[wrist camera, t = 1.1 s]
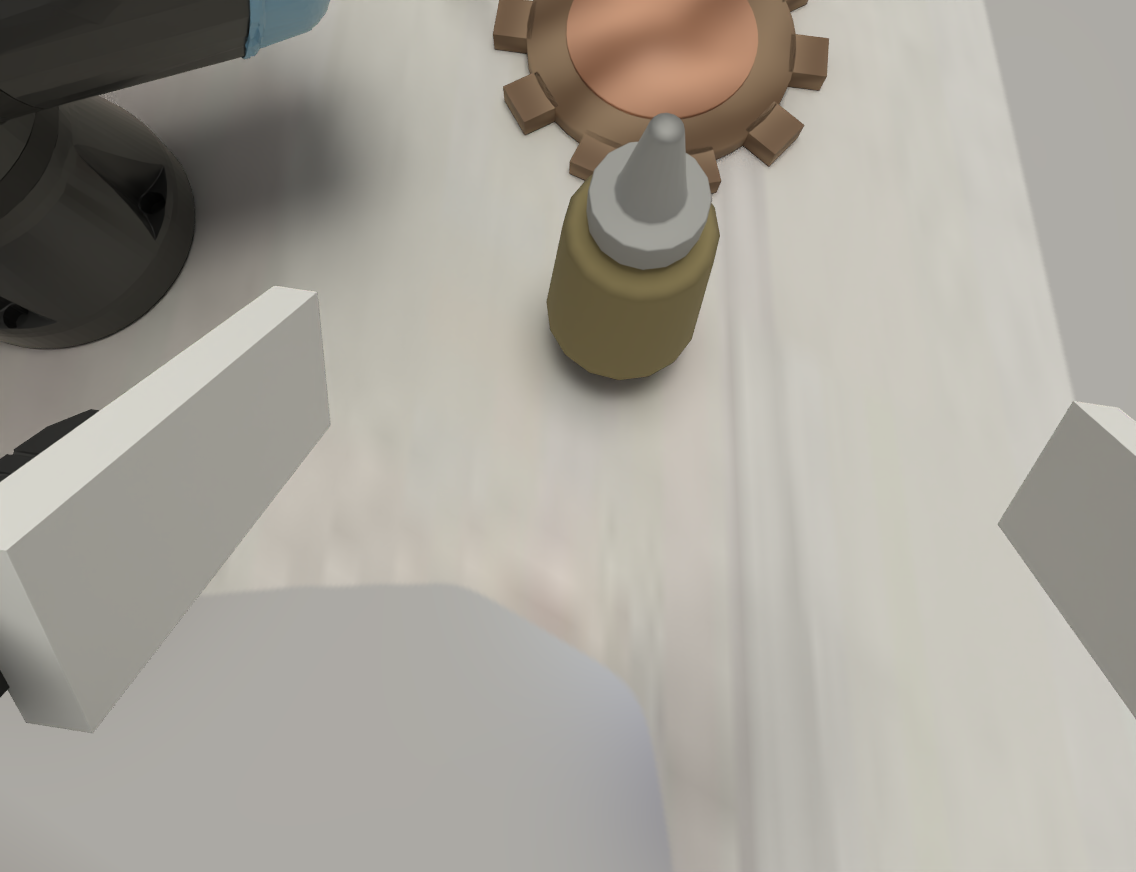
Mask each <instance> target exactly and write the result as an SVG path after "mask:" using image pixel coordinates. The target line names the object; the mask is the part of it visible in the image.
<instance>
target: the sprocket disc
mask: <svg viewBox="0 0 1136 872" xmlns="http://www.w3.org/2000/svg"><path fill="white" fill-rule="evenodd" d="M807 2H808V0H533V1H528V0H499V4H498V10H497V15H496V21H495V26H494V32H493V38H494V47H495V49H497V50H505V51H513V52H521V53H527V54H528V65H529V71H530V75H528V76H525V77H523V78H521V79H519V80H517V81H514V82H512V83H510V84H508V85H506V86H503V91H504V100H505V102H506V104H507V105H508V107H509V109H510V110H511V112H512V114H513V116H514V117H515V119H516V121H517V122H518V124H519V126H520V127H521V129H522V131H523V132H524V134H525V135H526V134H529V133H531V132H533V131H535V130H537V129H539V128H541V127H544V126H546V125H548V124H550V123H552V122H554V121H555V122H556V123H557V124H558V125H559V126H560V127H561V128H562V129H563V130H564V131H565V132H566V133H567V134H568V135H570V136H571V137H572V138H574V139H575V140H576V141H578V142H579V145H578V147H577V149H576V151H575V153H574V155H573V156H572V158H571V160H570V171H569V173H570V174H572V175H574V176H577V177H579V178H581V179H583V180H586V179H587V178H588V177H589V176H591V175H593V172H594V169H595V168H596V167H597V166H598V165H599V164H600V162H601V161H602V160H603V159H604V158H605V157H606V155H607V154H608V153H610V152H612V151H613V150H615V149H617V148H619V147H621V146H623V145H625V144H627V143H630V142H639V140H640V138H641V136H642V135H643V133H644V131H645V129H646V128H647V126H648V124H649V122H650V121H651V120H652V118H653V117H654V116H656V115H658V114H660V113H670V114H674V115H676V116H677V117H679V118H680V119H681V121H682V122H683V123H684V128H685V149H686V153H687V154H689V155H690V156H691V157H693V158H694V159H695V160H696V161H697V162H698V164H699V165H700V167H701V168H702V170H703V171H704V173H705V174H706V176H707V177H708V181H709V186H710V191H711V193H716V192H717V190H718V188H719V185H720V183H721V178H720V174H719V170H718V166H717V163H716V159H719V158H721V157H723V156H725V155H727V154H729V153H731V152H733V151H735V150H736V149H738V148H740V147H741V146H745V147H746V148H747V149H748V150H749V151H751V152H752V153H753V154H754V155H756V156H757V157H758V158H759V159H760V160H762V161H763V162H764V163H765V164H767V165H768V166H770V165H771V164H772V163H773V162H774V161H775V160H776V159H777V158H778V157H779V156H780V155H781V154H782V153H783V152H784V151H785V150H786V149H787V148H788V147H789V146H790V145H791V144H792V143H793V142H794V141H795V140H796V139H797V138H798V136H799V134H800V132H801V131H802V129H803V127H804V124H802V123H801V122H800V121H799V120H797V119H796V118H795V117H794V116H792V115H791V114H790V113H789V112H787V111H786V110H785V109H784V108H782V107H781V106H780V105H779V104H780V102H781V100H782V98H783V95H784V93H785V91H786V89H787V87H788V86H789V87H797V88H805V89H812V90H820V88H821V86H822V84H823V82H824V81H825V79H826V77H827V63H828V46H829V38H822V37H814V36H806V35H798V34H795V28H794V23H793V19H792V16H791V13H790V12H791V11H793V10H795V9H797V8H799V7H801V6H803V5H806V4H807Z"/></svg>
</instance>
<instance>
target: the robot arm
mask: <svg viewBox="0 0 1136 872" xmlns="http://www.w3.org/2000/svg"><path fill="white" fill-rule="evenodd" d="M329 2H330V0H0V341H3V342H6V343H10V344H13V345H17V346H22V347H29V348H42V349H48V348H64V347H70V346H76V345H80V344H85V343H88V342H91V341H95V340H97V339H100V338H103V337H105V336H107V335H110V334H112V333H114V332H116V331H118V330H120V329H122V328H123V327H125V326H127V325H128V324H130V323H132V322H133V321H134V320H136V319H137V318H139V317H140V316H141V315H143V314H144V313H145V312H146V311H148V310H149V309H150V308H151V307H152V306H153V305H154V304H155V303H156V302H157V301H158V300H159V299H160V298H161V297H162V296H163V295H164V293H165V292H166V291H167V290H168V289H169V287H170V286H171V284H172V283H173V282H174V280H175V278H176V277H177V275H178V274H179V272H180V270H181V268H182V266H183V264H184V262H185V260H186V257H187V255H188V252H189V249H190V246H191V242H192V238H193V232H194V224H195V208H194V200H193V194H192V190H191V187H190V184H189V181H188V179H187V176H186V174H185V172H184V170H183V168H182V167H181V165H180V164H179V162H178V161H177V159H176V158H175V157H174V155H173V154H172V153H171V152H170V151H169V150H168V149H167V147H166V146H165V145H164V144H163V143H162V142H161V141H160V140H159V139H158V138H157V137H156V136H155V134H154V133H153V132H152V131H151V130H150V129H149V128H148V127H147V126H146V125H144V124H143V123H142V122H141V121H140V120H138V119H137V118H136V117H134V116H133V115H132V114H130V113H129V112H128V111H126V110H124V109H123V108H121V107H119V106H117V105H115V104H114V103H112V102H110V101H108V100H106V99H104V98H102V97H100V96H99V95H101V94H105V93H108V92H112V91H116V90H120V89H123V88H127V87H131V86H135V85H138V84H142V83H146V82H149V81H153V80H157V79H161V78H164V77H168V76H172V75H176V74H179V73H183V72H187V71H191V70H194V69H198V68H202V67H206V66H209V65H213V64H217V63H221V62H224V61H228V60H232V59H236V58H239V57H242V58H243V59H248V58H250V56H255V55H256V54H257V52H258V51H259V49H260V48H263V47H266V46H269V45H272V44H274V43H277V42H280V41H283V40H286V39H288V38H291V37H294V36H297V35H300V34H303V33H306V32H308V31H310V30H312V28H313V27H314V26H316V25H317V24H318V22H319V21H320V19H321V18H322V17H323V16H324V15H325V13H326V11H327V9H328V5H329ZM329 427H330V414H329V404H328V394H327V384H326V374H325V364H324V353H323V343H322V333H321V323H320V313H319V303H318V293H317V292H315V291H308V290H301V289H295V288H288V287H281V286H273V287H272V288H270V289H269V290H267V291H266V292H265V293H263V294H262V295H260V296H259V297H258V298H256V299H255V300H254V301H252V302H251V303H249V304H248V305H247V306H245V307H244V308H242V309H241V310H240V311H238V312H237V313H235V314H234V315H233V316H231V317H230V318H228V319H227V320H226V321H224V322H223V323H221V324H220V325H219V326H217V327H216V328H214V329H213V330H212V331H210V332H209V333H207V334H206V335H205V336H203V337H202V338H201V339H199V340H198V341H196V342H195V343H194V344H192V345H191V346H189V347H188V348H187V349H185V350H184V351H182V352H181V353H180V354H178V355H177V356H175V357H174V358H173V359H171V360H170V361H168V362H167V363H166V364H164V365H163V366H161V367H160V368H159V369H157V370H156V371H155V372H153V373H152V374H150V375H149V376H148V377H146V378H145V379H143V380H142V381H141V382H139V383H138V384H136V385H135V386H134V387H132V388H131V389H129V390H128V391H127V392H125V393H124V394H122V395H121V396H120V397H118V398H117V399H115V400H114V401H113V402H111V403H110V404H108V405H107V406H106V407H104V408H103V409H102V410H100V411H99V410H92V409H90V410H88V411H85V412H83V413H80V414H78V415H75V416H73V417H70V418H68V419H65V420H63V421H60V422H58V423H55V424H53V425H50V426H48V427H46V428H45V429H43V430H42V431H40V432H39V433H37V434H36V435H35V436H33V437H32V438H30V439H29V440H27V441H26V442H24V443H23V444H21V445H20V446H18V447H17V448H15V449H14V453H13V455H8V454H7V455H5V456H4V457H2V458H1V459H0V697H1V696H2V695H3V694H4V693H5V692H6V691H7V690H8V691H9V693H10V695H11V697H12V698H13V700H14V702H15V704H16V706H17V707H18V709H19V711H20V713H21V714H22V716H23V718H24V720H25V722H26V723H32V724H38V725H45V726H50V727H57V728H64V729H70V730H76V731H82V732H88V733H93V732H94V731H95V730H96V728H97V727H98V726H99V725H100V723H101V722H102V721H103V719H104V718H105V717H106V715H107V714H108V713H109V712H110V710H111V709H112V707H113V706H114V705H115V704H116V702H117V701H118V700H119V699H120V697H121V696H122V695H123V693H124V692H125V691H126V690H127V688H128V687H129V686H130V684H131V683H132V682H133V681H134V679H135V678H136V677H137V675H138V674H139V673H140V671H141V670H142V669H143V668H144V666H145V665H146V663H147V662H148V661H149V660H150V658H151V657H152V656H153V655H154V653H155V652H156V651H157V649H158V648H159V647H160V646H161V644H162V643H163V641H164V640H165V639H166V638H167V636H168V635H169V634H170V633H171V631H172V630H173V629H174V627H175V626H176V625H177V624H178V622H179V621H180V620H181V618H182V617H183V616H184V614H185V613H186V612H187V611H188V609H189V608H190V607H191V605H192V604H193V603H194V601H195V600H196V599H197V598H198V596H199V595H200V594H201V592H202V591H203V590H204V589H205V587H206V586H207V585H208V583H209V582H210V581H211V579H212V578H213V577H214V576H215V574H216V573H217V572H218V570H219V569H220V568H221V566H222V565H223V564H224V563H225V561H226V560H227V559H228V557H229V556H230V555H231V554H232V552H233V551H234V550H235V548H236V547H237V546H238V544H239V543H240V542H241V541H242V539H243V538H244V537H245V535H246V534H247V533H248V532H249V530H250V529H251V528H252V526H253V525H254V524H255V522H256V521H257V520H258V519H259V517H260V516H261V515H262V513H263V512H264V511H265V509H266V508H267V507H268V506H269V504H270V503H271V502H272V500H273V499H274V498H275V497H276V495H277V494H278V493H279V491H280V490H281V489H282V487H283V486H284V485H285V484H286V482H287V481H288V480H289V478H290V477H291V476H292V474H293V473H294V472H295V471H296V469H297V468H298V467H299V465H300V464H301V463H302V462H303V460H304V459H305V458H306V456H307V455H308V454H309V452H310V451H311V450H312V449H313V447H314V446H315V445H316V443H317V442H318V441H319V440H320V438H321V437H322V436H323V434H324V433H325V432H326V430H327V429H328V428H329ZM998 526H999V527H1000V528H1001V530H1002V531H1003V533H1004V534H1005V535H1006V537H1007V538H1008V540H1009V541H1010V542H1011V544H1012V545H1013V547H1014V548H1015V549H1016V551H1017V552H1018V554H1019V555H1020V557H1021V558H1022V559H1023V561H1024V562H1025V564H1026V565H1027V566H1028V568H1029V569H1030V571H1031V572H1032V573H1033V575H1034V576H1035V578H1036V579H1037V580H1038V582H1039V583H1040V585H1041V586H1042V588H1043V589H1044V590H1045V592H1046V593H1047V595H1048V596H1049V597H1050V599H1051V600H1052V602H1053V603H1054V604H1055V606H1056V607H1057V609H1058V610H1059V611H1060V613H1061V614H1062V616H1063V617H1064V618H1065V620H1066V621H1067V623H1068V624H1069V626H1070V627H1071V628H1072V630H1073V631H1074V633H1075V634H1076V635H1077V637H1078V638H1079V640H1080V641H1081V642H1082V644H1083V645H1084V647H1085V648H1086V649H1087V651H1088V652H1089V654H1090V655H1091V657H1092V658H1093V659H1094V661H1095V662H1096V664H1097V665H1098V666H1099V668H1100V669H1101V671H1102V672H1103V673H1104V675H1105V676H1106V678H1107V679H1108V680H1109V682H1110V683H1111V685H1112V686H1113V688H1114V689H1115V690H1116V692H1117V693H1118V695H1119V696H1120V697H1121V699H1122V700H1123V702H1124V703H1125V704H1126V706H1127V707H1128V709H1129V710H1130V711H1131V713H1132V714H1133V716H1134V717H1135V719H1136V422H1135V421H1134V420H1133V419H1132V418H1130V417H1129V416H1128V415H1127V414H1125V413H1124V412H1123V411H1122V410H1121V409H1119V408H1117V407H1110V406H1103V405H1097V404H1089V403H1083V402H1076V401H1073V402H1072V404H1071V405H1070V407H1069V409H1068V410H1067V412H1066V414H1065V415H1064V417H1063V419H1062V420H1061V422H1060V423H1059V425H1058V427H1057V428H1056V430H1055V432H1054V433H1053V435H1052V436H1051V438H1050V440H1049V441H1048V443H1047V445H1046V446H1045V448H1044V449H1043V451H1042V453H1041V454H1040V456H1039V458H1038V459H1037V461H1036V462H1035V464H1034V466H1033V467H1032V469H1031V471H1030V472H1029V474H1028V475H1027V477H1026V479H1025V480H1024V482H1023V484H1022V485H1021V487H1020V488H1019V490H1018V492H1017V493H1016V495H1015V497H1014V498H1013V500H1012V501H1011V503H1010V505H1009V506H1008V508H1007V510H1006V511H1005V513H1004V515H1003V516H1002V518H1001V519H1000V521H999V523H998Z"/></svg>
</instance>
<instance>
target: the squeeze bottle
mask: <svg viewBox="0 0 1136 872" xmlns="http://www.w3.org/2000/svg"><path fill="white" fill-rule="evenodd" d="M711 202H712V196H711V191H710V186H709V181H708V177H707V176H706V174H705V173H704V171H703V170H702V168H701V167H700V165H699V164H698V162H697V161H696V160H695V159H694V158H693V157H691V156H690V155H689V154H687V153H686V149H685V128H684V123H683V122H682V121H681V119H680V118H679V117H677V116H676V115H674V114H670V113H660V114H658V115H656V116H654V117H653V118H652V120H651V121H650V122H649V124H648V126H647V128H646V129H645V131H644V133H643V135H642V136H641V138H640V140H639V142H630V143H627V144H625V145H623V146H621V147H619V148H617V149H615V150H613V151H612V152H610V153H608V154H607V155H606V157H605V158H604V159H603V160H602V161H601V162H600V164H599V165H598V166H597V167H596V168H595V169H594V172H593V175H591V176H589V177H588V178H587V179H586V181H585V182H584V183H583V184H582V185H581V186H580V188H579V189H578V190H577V191H576V192H575V193H574V195H573V196H572V197H571V199H570V202H569V206H568V209H567V212H566V216H565V219H564V223H563V226H562V231H561V236H560V241H559V245H558V250H557V255H556V260H555V264H554V269H553V274H552V279H551V283H550V288H549V293H548V298H547V309H548V317H549V324H550V330H551V332H552V334H553V335H554V337H555V339H556V340H557V342H558V344H559V345H560V347H561V349H562V350H563V352H564V354H565V355H566V356H568V357H569V358H570V359H572V360H573V361H574V362H576V363H577V364H579V365H580V366H581V367H583V368H584V369H585V370H587V371H588V372H590V373H593V374H597V375H601V376H605V377H609V378H613V379H616V380H623V379H631V378H639V377H647V376H650V375H652V374H654V373H655V372H657V371H659V370H661V369H663V368H664V367H666V366H668V365H670V364H671V363H673V362H675V360H676V359H677V358H678V356H679V355H680V354H681V352H682V351H683V350H684V348H685V347H686V346H687V345H688V343H689V342H690V341H691V339H692V336H693V332H694V329H695V325H696V322H697V318H698V315H699V311H700V308H701V304H702V301H703V297H704V294H705V290H706V287H707V283H708V280H709V276H710V273H711V269H712V266H713V262H714V258H715V254H716V250H717V246H718V241H719V237H720V233H719V228H718V223H717V218H716V212H715V208H714V206H713V205H712V203H711Z"/></svg>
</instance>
